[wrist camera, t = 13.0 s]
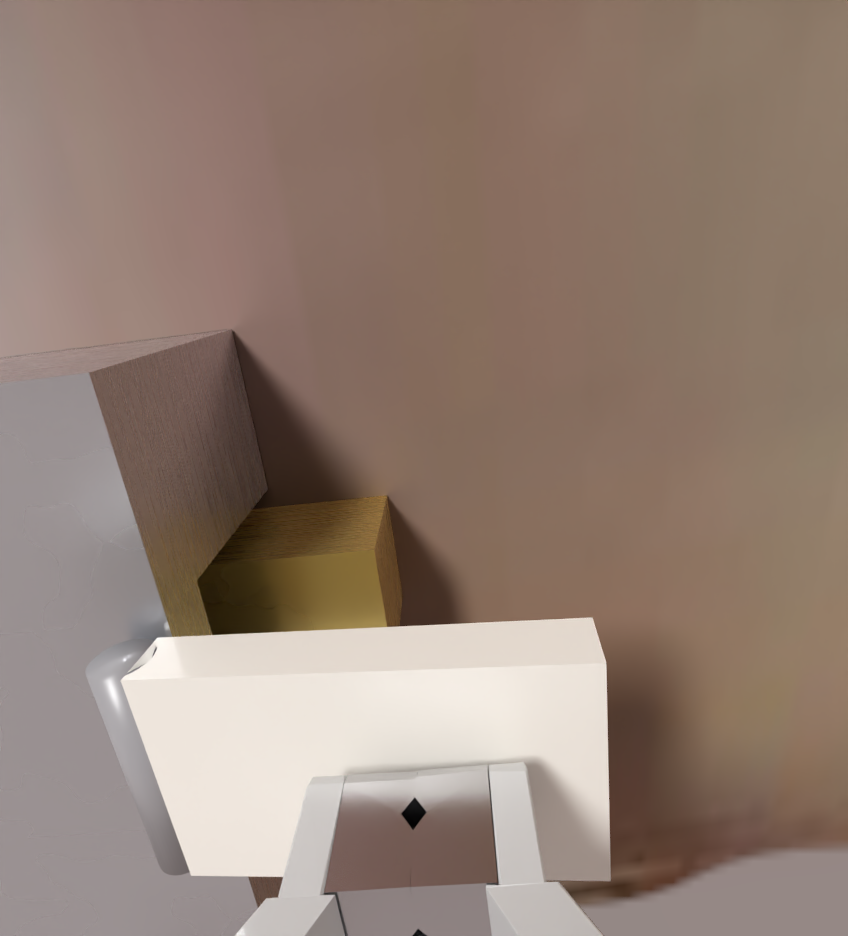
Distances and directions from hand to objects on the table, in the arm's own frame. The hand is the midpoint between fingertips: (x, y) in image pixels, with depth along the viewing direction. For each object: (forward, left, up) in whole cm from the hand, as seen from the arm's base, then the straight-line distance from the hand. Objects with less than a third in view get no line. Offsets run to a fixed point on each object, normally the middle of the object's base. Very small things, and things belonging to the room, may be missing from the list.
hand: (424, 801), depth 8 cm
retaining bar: (-4, 0, -1) cm, 5 cm away
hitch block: (-7, 0, -7) cm, 10 cm away
